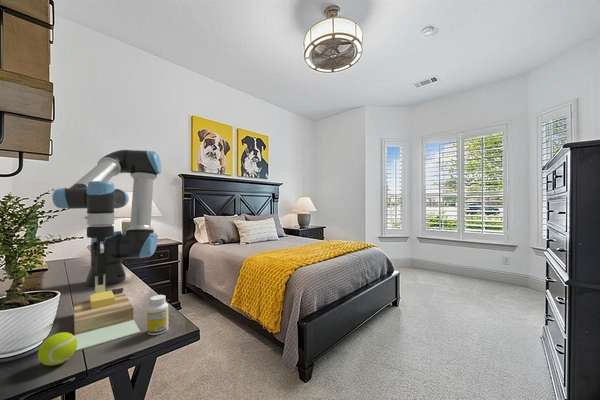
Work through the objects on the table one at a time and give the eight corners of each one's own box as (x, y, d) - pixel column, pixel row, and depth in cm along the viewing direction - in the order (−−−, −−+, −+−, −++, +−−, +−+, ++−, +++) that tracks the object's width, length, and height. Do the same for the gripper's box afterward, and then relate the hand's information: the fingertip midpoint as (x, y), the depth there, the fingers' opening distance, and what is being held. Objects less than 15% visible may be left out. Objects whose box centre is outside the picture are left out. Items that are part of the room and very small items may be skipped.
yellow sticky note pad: (89, 300, 87) (89, 294, 87) (111, 296, 91) (111, 290, 91) (91, 308, 80) (91, 301, 80) (114, 303, 84) (114, 297, 84)
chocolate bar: (123, 287, 111) (119, 301, 96) (123, 290, 111) (119, 304, 96) (97, 291, 107) (88, 306, 91) (97, 293, 107) (88, 309, 91)
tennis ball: (73, 351, 64) (73, 324, 64) (80, 361, 60) (80, 332, 60) (35, 364, 59) (35, 335, 59) (40, 376, 55) (40, 345, 55)
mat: (74, 336, 72) (74, 335, 72) (133, 320, 81) (133, 319, 81) (75, 351, 64) (75, 350, 64) (140, 332, 74) (140, 331, 74)
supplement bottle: (154, 326, 77) (154, 293, 77) (172, 326, 77) (172, 293, 77) (142, 335, 72) (142, 300, 72) (161, 336, 72) (162, 300, 72)
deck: (73, 314, 86) (73, 302, 86) (124, 303, 95) (124, 292, 95) (74, 335, 72) (74, 321, 72) (133, 320, 81) (133, 307, 82)
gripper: (85, 225, 92) (85, 291, 92) (87, 227, 83) (86, 301, 82) (111, 224, 97) (111, 286, 97) (116, 226, 88) (115, 295, 87)
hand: (100, 293), depth 90 cm, fingers closed
